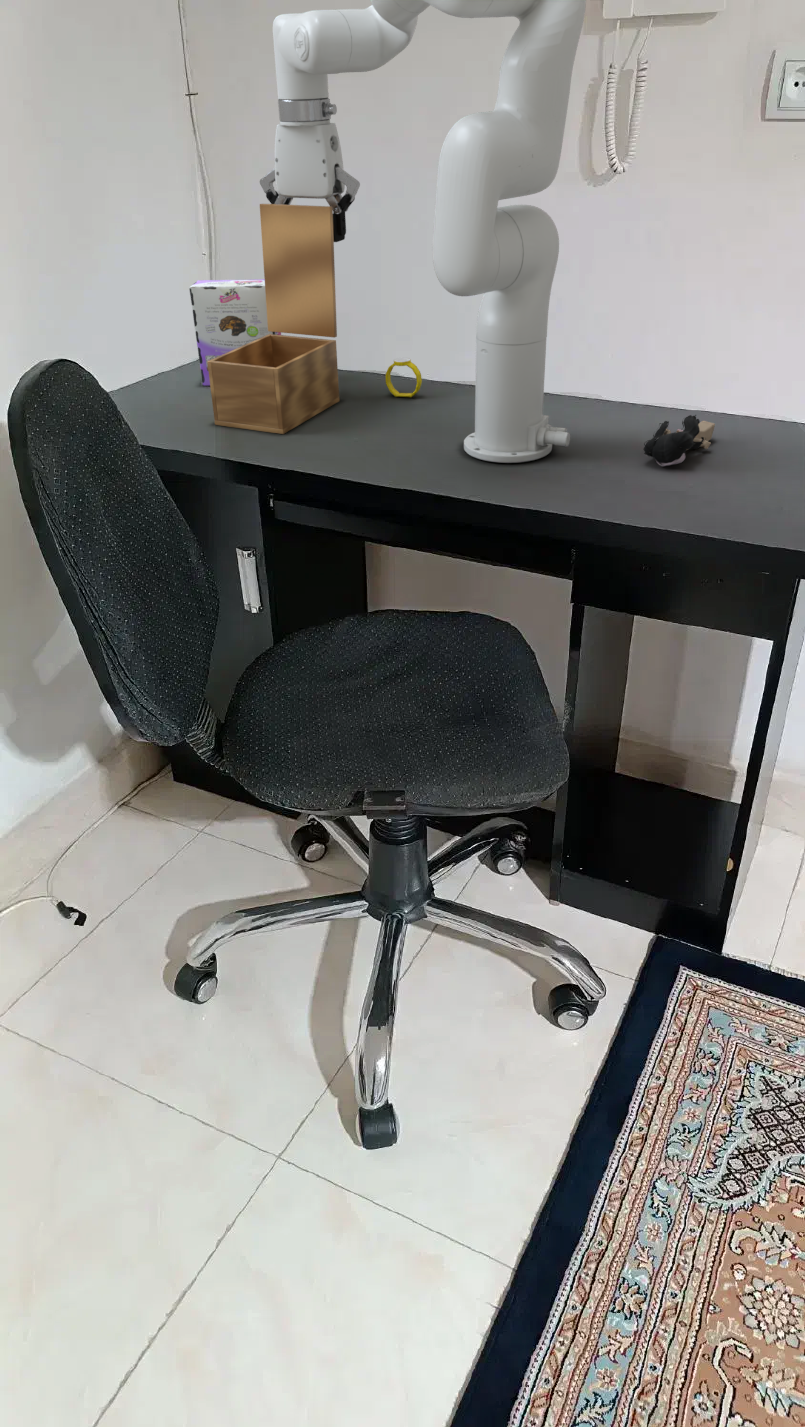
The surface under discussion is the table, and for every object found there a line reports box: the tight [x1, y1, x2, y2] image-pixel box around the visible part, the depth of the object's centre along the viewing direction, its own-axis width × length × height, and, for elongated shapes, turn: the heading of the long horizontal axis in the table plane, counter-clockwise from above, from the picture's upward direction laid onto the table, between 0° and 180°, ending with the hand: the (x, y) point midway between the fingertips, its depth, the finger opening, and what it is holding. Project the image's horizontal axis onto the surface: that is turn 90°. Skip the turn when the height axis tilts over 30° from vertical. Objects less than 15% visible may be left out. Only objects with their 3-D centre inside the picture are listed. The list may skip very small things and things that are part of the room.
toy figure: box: [643, 414, 716, 468], centre depth 145 cm, size 7×6×15 cm
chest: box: [207, 334, 340, 435], centre depth 164 cm, size 18×12×10 cm
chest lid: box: [259, 203, 338, 339], centre depth 165 cm, size 19×12×5 cm
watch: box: [384, 357, 423, 398], centre depth 171 cm, size 6×3×6 cm, turn 66°
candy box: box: [188, 278, 282, 387], centre depth 177 cm, size 14×6×16 cm, turn 84°
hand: (312, 239), depth 164 cm, fingers open, 8 cm apart
